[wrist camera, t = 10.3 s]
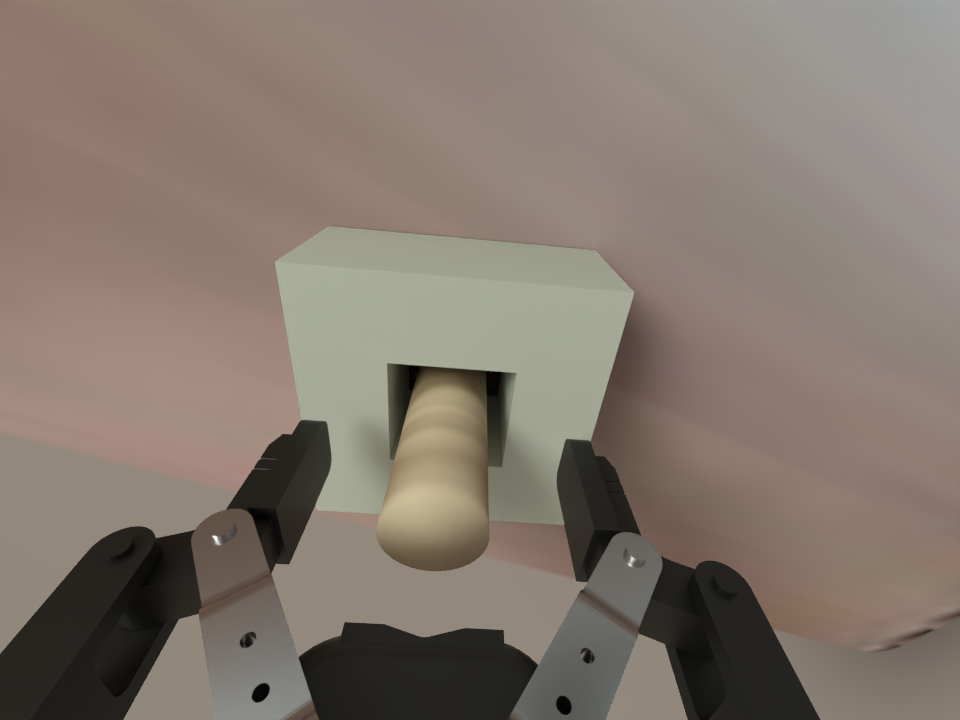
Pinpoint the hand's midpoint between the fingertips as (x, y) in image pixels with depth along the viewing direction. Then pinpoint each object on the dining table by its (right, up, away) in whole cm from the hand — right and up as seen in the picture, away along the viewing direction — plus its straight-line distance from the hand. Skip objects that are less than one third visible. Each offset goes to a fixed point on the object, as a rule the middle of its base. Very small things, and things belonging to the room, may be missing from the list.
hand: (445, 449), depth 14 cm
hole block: (0, +3, +6) cm, 7 cm away
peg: (0, +3, +6) cm, 7 cm away
